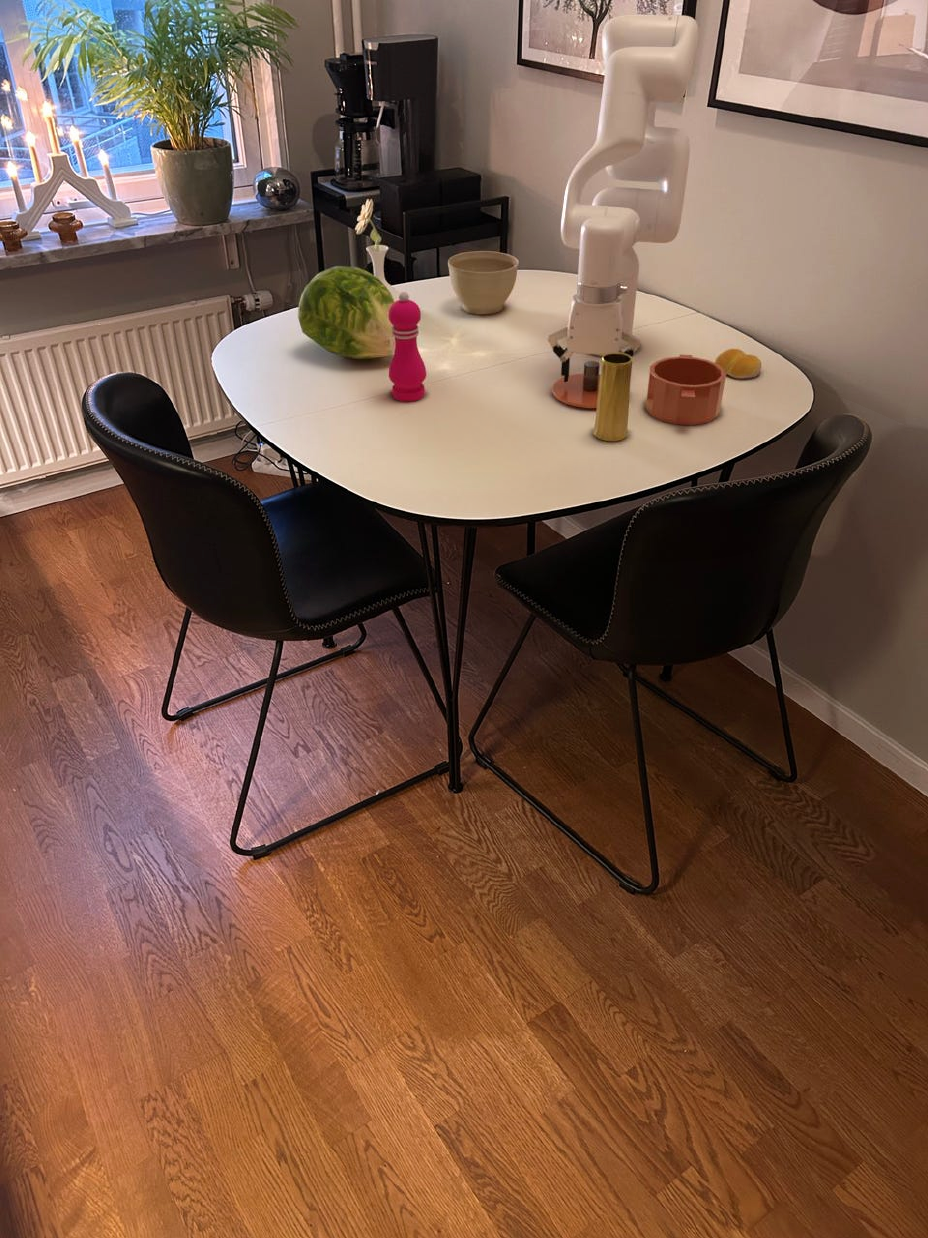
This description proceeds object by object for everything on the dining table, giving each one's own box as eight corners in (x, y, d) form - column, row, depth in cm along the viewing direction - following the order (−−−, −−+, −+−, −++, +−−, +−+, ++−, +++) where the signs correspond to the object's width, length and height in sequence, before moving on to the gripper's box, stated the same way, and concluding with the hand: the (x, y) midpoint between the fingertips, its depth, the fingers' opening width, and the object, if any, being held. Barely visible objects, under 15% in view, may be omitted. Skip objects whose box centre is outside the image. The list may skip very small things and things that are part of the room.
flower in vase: (363, 299, 225) (354, 188, 209) (409, 300, 223) (404, 189, 208) (350, 318, 215) (340, 203, 199) (399, 320, 213) (392, 204, 198)
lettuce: (366, 346, 180) (415, 270, 183) (271, 304, 187) (320, 232, 190) (389, 394, 197) (434, 324, 200) (302, 354, 204) (347, 287, 207)
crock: (645, 429, 169) (649, 390, 164) (646, 385, 184) (650, 349, 179) (721, 433, 167) (728, 394, 162) (716, 389, 182) (722, 352, 177)
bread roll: (744, 383, 184) (748, 364, 181) (708, 369, 189) (711, 351, 187) (769, 372, 188) (773, 352, 186) (732, 359, 193) (736, 340, 191)
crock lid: (548, 408, 176) (550, 377, 172) (555, 377, 187) (556, 347, 184) (626, 413, 174) (629, 381, 170) (628, 381, 185) (631, 351, 182)
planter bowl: (518, 320, 212) (519, 271, 206) (448, 320, 213) (447, 272, 206) (516, 296, 225) (517, 249, 218) (449, 296, 225) (448, 250, 219)
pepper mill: (432, 389, 183) (429, 287, 171) (419, 404, 178) (414, 300, 166) (398, 385, 185) (392, 283, 173) (384, 399, 180) (377, 296, 168)
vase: (605, 444, 164) (612, 367, 155) (586, 430, 169) (592, 355, 160) (634, 437, 166) (642, 360, 158) (614, 423, 171) (621, 348, 162)
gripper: (646, 286, 171) (636, 375, 181) (551, 282, 173) (548, 370, 183) (645, 300, 165) (635, 391, 175) (548, 296, 167) (544, 386, 178)
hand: (590, 380), depth 179 cm, fingers open, 9 cm apart
